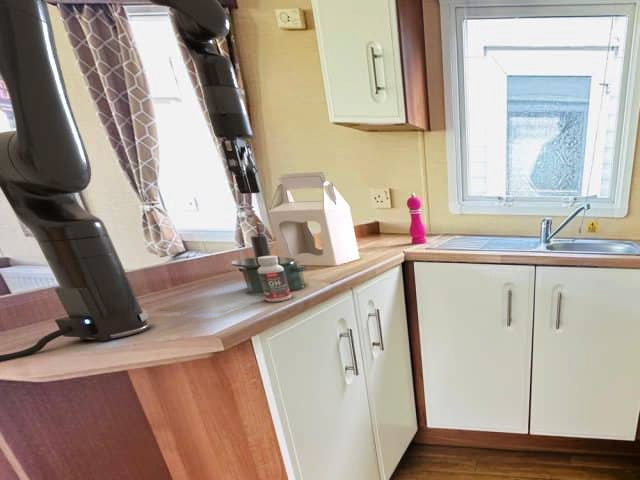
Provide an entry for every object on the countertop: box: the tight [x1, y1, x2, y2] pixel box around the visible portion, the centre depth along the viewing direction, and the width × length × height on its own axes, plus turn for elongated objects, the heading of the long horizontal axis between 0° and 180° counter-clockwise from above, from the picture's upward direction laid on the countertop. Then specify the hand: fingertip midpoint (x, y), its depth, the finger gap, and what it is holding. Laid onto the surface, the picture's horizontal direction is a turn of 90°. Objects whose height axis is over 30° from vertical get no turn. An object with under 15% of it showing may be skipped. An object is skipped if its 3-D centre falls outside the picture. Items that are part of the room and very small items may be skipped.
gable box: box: [268, 171, 360, 267], centre depth 142 cm, size 22×13×28 cm, turn 73°
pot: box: [238, 260, 307, 294], centre depth 109 cm, size 13×19×6 cm
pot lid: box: [230, 234, 295, 269], centre depth 106 cm, size 14×14×7 cm
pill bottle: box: [257, 255, 292, 303], centre depth 97 cm, size 5×5×10 cm
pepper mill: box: [406, 192, 427, 245], centre depth 181 cm, size 7×7×20 cm
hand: (250, 193), depth 100 cm, fingers open, 8 cm apart
